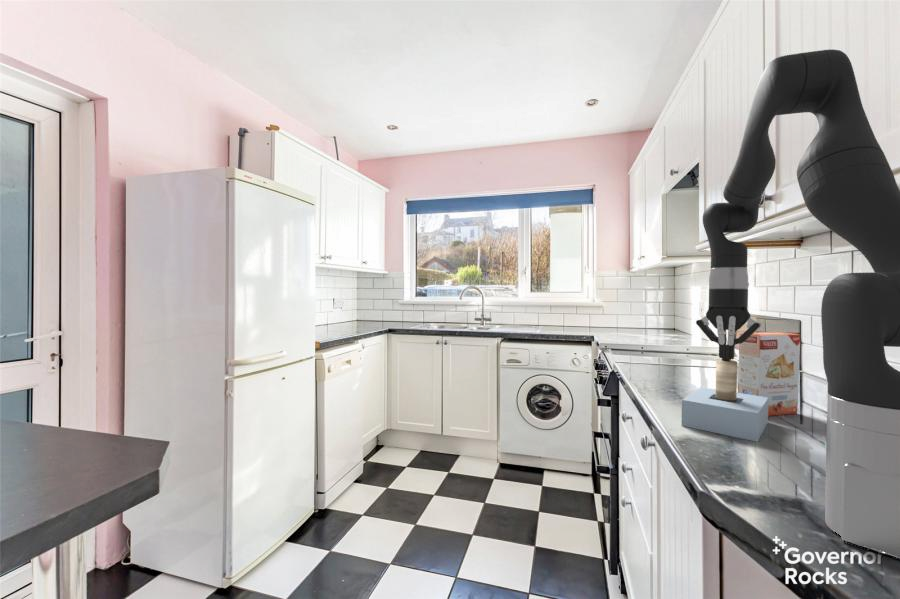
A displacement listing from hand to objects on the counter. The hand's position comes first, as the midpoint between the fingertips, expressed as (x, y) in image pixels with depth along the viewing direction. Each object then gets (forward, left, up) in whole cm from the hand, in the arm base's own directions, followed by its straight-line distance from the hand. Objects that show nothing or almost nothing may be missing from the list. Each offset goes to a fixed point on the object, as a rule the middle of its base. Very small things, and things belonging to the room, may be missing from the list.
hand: (726, 360), depth 92 cm
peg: (0, 0, -14) cm, 14 cm away
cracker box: (+19, -6, -15) cm, 25 cm away
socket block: (0, 0, -15) cm, 15 cm away
